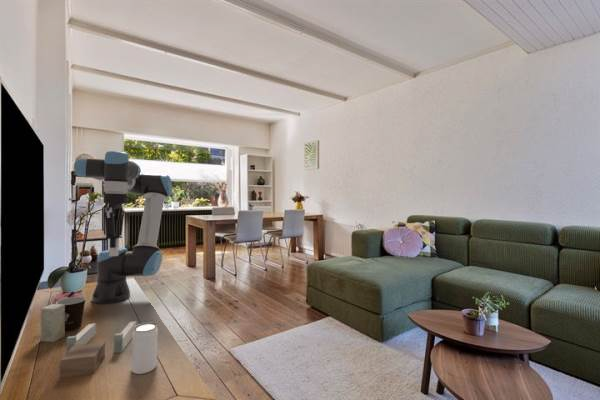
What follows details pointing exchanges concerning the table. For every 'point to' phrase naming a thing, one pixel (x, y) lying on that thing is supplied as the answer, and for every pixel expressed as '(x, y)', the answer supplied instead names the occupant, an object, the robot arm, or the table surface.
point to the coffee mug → (73, 312)
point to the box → (52, 322)
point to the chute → (89, 333)
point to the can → (144, 348)
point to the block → (82, 359)
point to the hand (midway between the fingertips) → (113, 255)
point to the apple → (67, 296)
